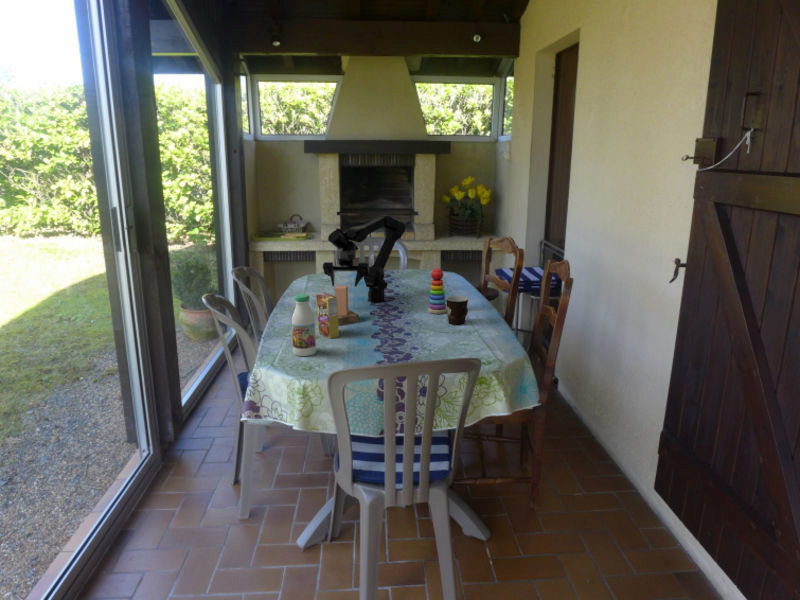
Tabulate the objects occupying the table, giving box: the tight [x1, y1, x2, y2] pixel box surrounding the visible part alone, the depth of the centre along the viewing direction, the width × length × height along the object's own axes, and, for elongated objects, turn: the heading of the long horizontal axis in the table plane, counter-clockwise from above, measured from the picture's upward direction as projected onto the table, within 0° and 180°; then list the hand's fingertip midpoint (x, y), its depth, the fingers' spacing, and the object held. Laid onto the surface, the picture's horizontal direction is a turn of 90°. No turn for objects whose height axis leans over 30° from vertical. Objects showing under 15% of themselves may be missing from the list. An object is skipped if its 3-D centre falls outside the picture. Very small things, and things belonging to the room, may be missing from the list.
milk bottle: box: [291, 293, 317, 357], centre depth 185 cm, size 8×8×20 cm
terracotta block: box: [334, 285, 349, 315], centre depth 221 cm, size 4×4×11 cm
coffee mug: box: [445, 295, 469, 326], centre depth 217 cm, size 12×9×10 cm
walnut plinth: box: [338, 309, 360, 327], centre depth 222 cm, size 10×10×3 cm
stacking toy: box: [427, 268, 447, 315], centre depth 232 cm, size 8×8×19 cm
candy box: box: [315, 292, 340, 339], centre depth 204 cm, size 9×4×15 cm, turn 37°
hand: (344, 286), depth 225 cm, fingers open, 9 cm apart
